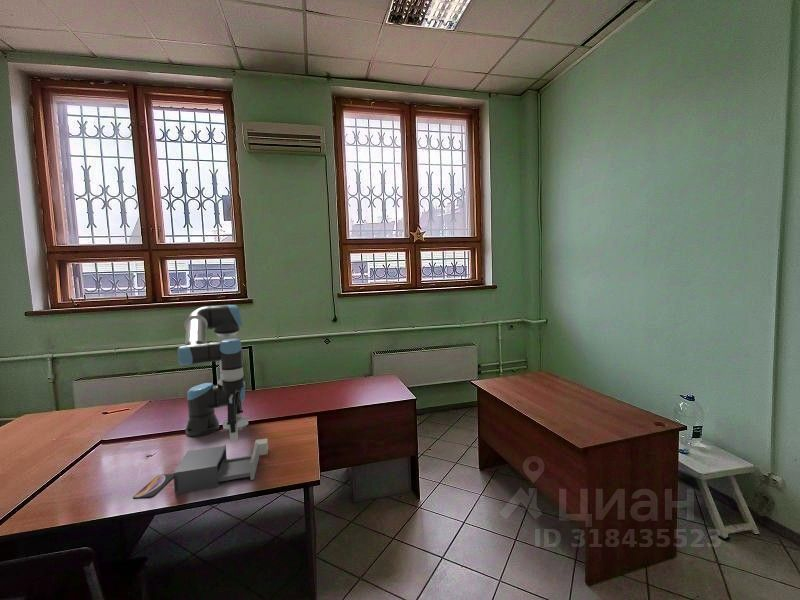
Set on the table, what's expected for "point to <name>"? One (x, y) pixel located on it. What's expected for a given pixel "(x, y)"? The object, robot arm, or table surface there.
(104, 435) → the table surface
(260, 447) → the pedestal
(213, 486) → the housing
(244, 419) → the disc
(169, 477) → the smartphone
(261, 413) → the table surface
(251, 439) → the table surface
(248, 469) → the tray
